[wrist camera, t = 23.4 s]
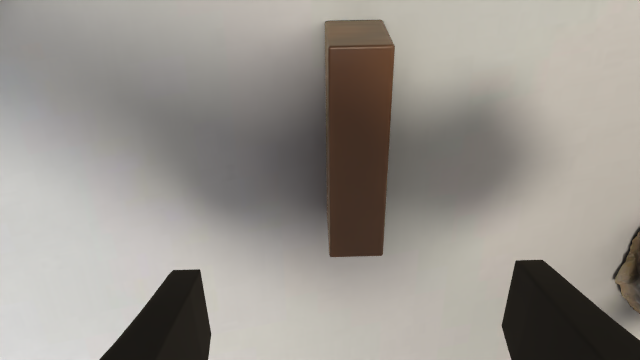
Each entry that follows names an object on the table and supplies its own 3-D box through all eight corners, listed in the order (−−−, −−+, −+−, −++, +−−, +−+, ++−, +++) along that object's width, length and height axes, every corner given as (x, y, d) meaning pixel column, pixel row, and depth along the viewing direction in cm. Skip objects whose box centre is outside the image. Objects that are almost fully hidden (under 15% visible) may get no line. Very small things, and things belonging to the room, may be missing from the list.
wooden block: (382, 19, 18) (395, 45, 16) (374, 211, 23) (383, 256, 20) (324, 20, 18) (328, 46, 16) (326, 212, 23) (329, 258, 20)
